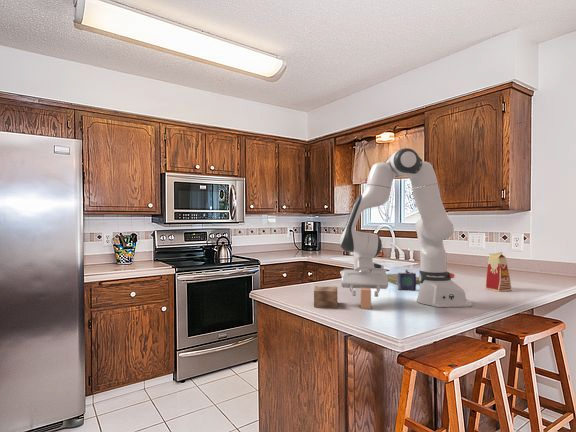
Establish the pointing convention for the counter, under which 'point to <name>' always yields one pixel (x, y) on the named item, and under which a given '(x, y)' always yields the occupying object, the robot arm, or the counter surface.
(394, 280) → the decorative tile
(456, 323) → the counter surface
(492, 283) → the milk carton
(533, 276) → the counter surface
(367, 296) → the terracotta block
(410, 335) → the counter surface
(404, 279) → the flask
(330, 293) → the small wooden cube
